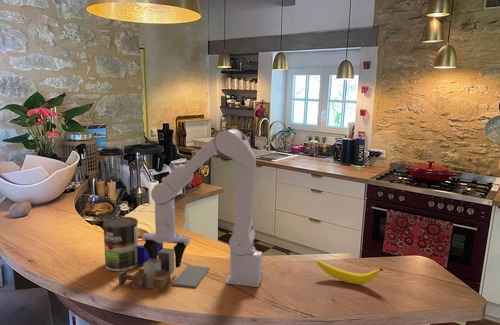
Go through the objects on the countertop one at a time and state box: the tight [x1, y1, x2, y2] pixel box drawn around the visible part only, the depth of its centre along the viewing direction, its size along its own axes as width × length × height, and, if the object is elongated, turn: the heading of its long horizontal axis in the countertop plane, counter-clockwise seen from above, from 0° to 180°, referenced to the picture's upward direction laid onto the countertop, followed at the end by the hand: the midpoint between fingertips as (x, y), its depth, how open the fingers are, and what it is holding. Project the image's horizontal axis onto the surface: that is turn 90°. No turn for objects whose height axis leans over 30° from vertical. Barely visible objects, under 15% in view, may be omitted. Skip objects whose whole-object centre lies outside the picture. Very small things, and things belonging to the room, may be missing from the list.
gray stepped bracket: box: [157, 247, 175, 276], centre depth 109 cm, size 4×8×7 cm, turn 168°
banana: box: [315, 259, 383, 285], centre depth 106 cm, size 3×19×6 cm, turn 64°
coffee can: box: [102, 216, 139, 272], centre depth 115 cm, size 10×10×14 cm
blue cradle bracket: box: [137, 243, 164, 266], centre depth 121 cm, size 12×4×6 cm, turn 165°
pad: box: [172, 264, 210, 289], centre depth 108 cm, size 7×12×1 cm, turn 168°
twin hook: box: [142, 258, 161, 289], centre depth 108 cm, size 7×13×7 cm, turn 168°
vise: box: [118, 268, 171, 293], centre depth 103 cm, size 14×5×4 cm, turn 78°
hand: (166, 264), depth 111 cm, fingers open, 7 cm apart
